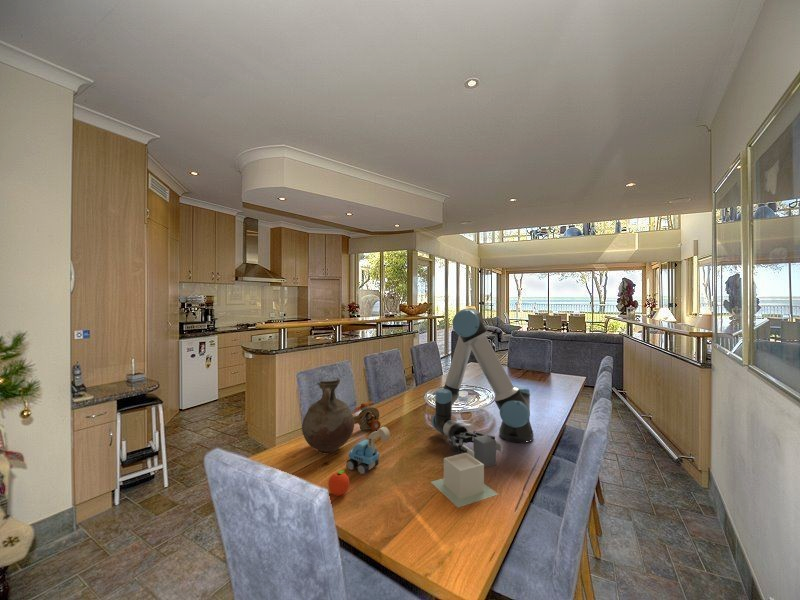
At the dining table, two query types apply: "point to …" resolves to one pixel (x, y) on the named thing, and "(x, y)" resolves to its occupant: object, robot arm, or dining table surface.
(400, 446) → the dining table surface
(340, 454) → the dining table surface
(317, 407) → the jug
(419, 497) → the dining table surface
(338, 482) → the clementine
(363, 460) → the toy excavator
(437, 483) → the green baseplate
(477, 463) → the cream base brick
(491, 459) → the charcoal brick
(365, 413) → the toy helicopter
